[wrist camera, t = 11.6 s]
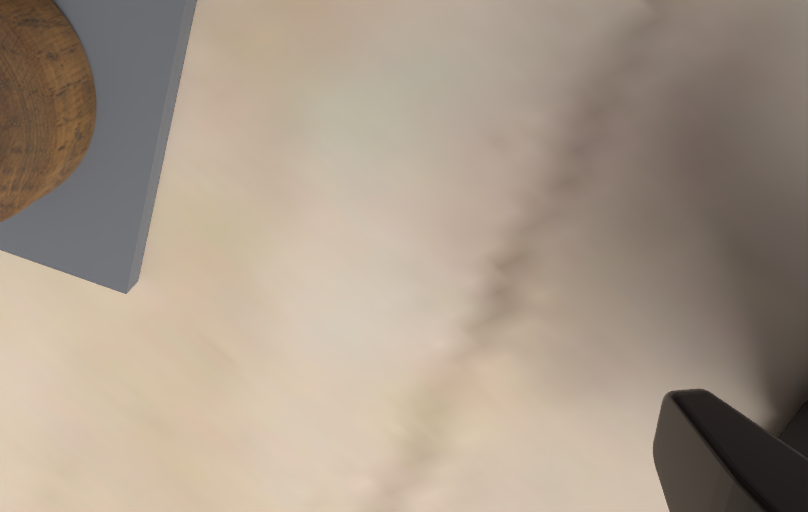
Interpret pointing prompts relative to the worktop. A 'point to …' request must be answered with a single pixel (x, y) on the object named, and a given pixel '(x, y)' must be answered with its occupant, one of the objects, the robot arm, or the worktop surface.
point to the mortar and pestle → (40, 102)
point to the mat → (112, 144)
